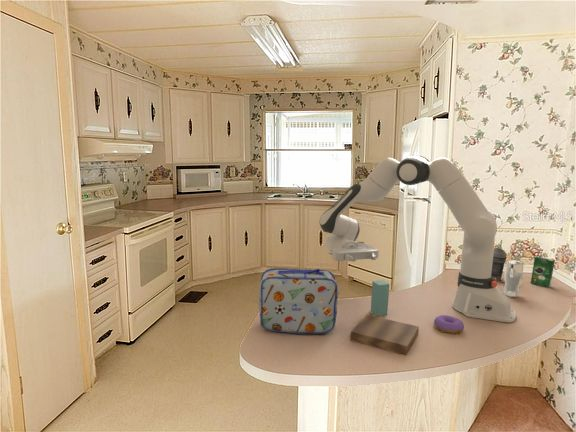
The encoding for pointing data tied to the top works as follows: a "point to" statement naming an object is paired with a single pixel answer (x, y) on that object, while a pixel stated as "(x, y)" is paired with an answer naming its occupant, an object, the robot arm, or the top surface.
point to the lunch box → (298, 300)
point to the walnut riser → (385, 334)
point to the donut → (449, 324)
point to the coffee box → (542, 271)
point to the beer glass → (512, 277)
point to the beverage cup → (498, 263)
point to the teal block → (379, 297)
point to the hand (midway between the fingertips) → (364, 258)
